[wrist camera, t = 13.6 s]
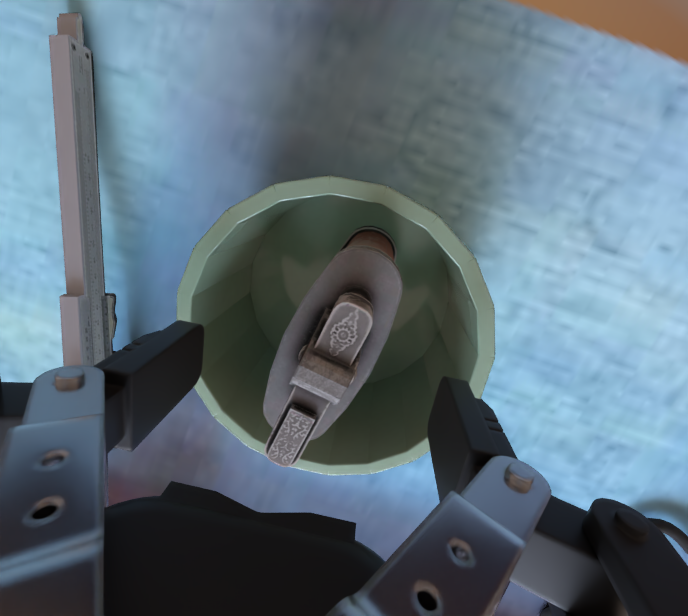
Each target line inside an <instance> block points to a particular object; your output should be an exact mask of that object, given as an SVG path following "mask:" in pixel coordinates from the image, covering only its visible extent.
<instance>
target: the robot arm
mask: <svg viewBox="0 0 688 616" xmlns="http://www.w3.org/2000/svg"><path fill="white" fill-rule="evenodd" d="M203 348H204V327H203V325H202V324H197V323H192V322H187V321H183V320H178V321H176V322H174V323H173V324H171V325H170V326H168V327H167V328H165V329H164V330H162V331H160V330H159V331H156V332H153V333H149V334H146V335H143V336H141V337H140V338H138V339H137V340H135V341H133V342H132V344H128V345H127V346H125V347H124V348H123V349H122V350H119V351H117V352H115V353H114V354H112V355H110V356H109V357H107V358H106V359H104V360H102V361H101V362H99V363H97V364H96V365H94V366H87V365H71V366H64V367H59V368H56V369H53V370H50V371H47V372H45V373H43V374H41V375H40V376H39V377H37V378H36V379H35V380H34V382H33V383H15V382H1V378H0V616H493V615H494V613H495V611H496V609H497V607H498V605H499V603H500V601H501V599H502V597H503V595H504V593H505V591H506V589H507V587H508V585H509V583H510V581H511V582H512V583H514V584H516V585H518V586H520V587H522V588H524V589H525V590H527V591H529V592H531V593H533V594H535V595H537V596H538V597H540V598H542V599H544V600H546V601H547V602H548V605H549V608H550V611H551V614H552V616H688V566H687V564H686V563H685V562H684V560H683V559H682V558H681V556H680V555H679V554H678V553H677V551H676V550H675V549H674V547H673V546H672V545H671V543H670V542H669V541H668V539H667V538H666V537H665V535H664V534H663V533H662V532H661V531H660V530H659V529H658V528H657V527H656V526H655V525H654V524H653V523H652V522H651V521H650V520H649V519H647V518H646V517H645V516H643V515H642V514H640V513H639V512H637V511H636V510H634V509H632V508H631V507H629V506H627V505H625V504H623V503H620V502H618V501H614V500H611V499H605V498H600V499H596V500H595V501H594V502H593V503H592V505H591V507H590V509H589V510H588V512H587V511H585V510H583V509H581V508H578V507H576V506H574V505H571V504H569V503H567V502H565V501H562V500H560V499H558V498H556V497H554V496H552V495H551V489H550V486H549V484H548V482H547V481H546V480H545V478H544V477H543V476H542V475H541V474H540V473H539V472H538V471H536V470H535V469H534V468H532V467H531V466H529V465H528V464H526V463H524V462H522V461H520V460H518V459H517V457H516V455H515V453H514V451H513V449H512V447H511V445H510V443H509V441H508V439H507V437H506V435H505V433H503V429H502V427H501V425H500V423H498V419H497V417H496V415H495V413H494V411H493V410H492V409H491V408H490V407H489V406H488V405H487V404H486V403H485V402H484V401H483V400H482V399H478V398H475V397H474V394H473V392H472V390H471V388H470V386H469V383H468V381H466V380H461V379H456V378H451V377H447V376H443V377H442V379H441V381H440V383H439V386H438V390H437V393H436V396H435V400H434V403H433V406H432V409H431V413H430V416H429V420H428V428H427V435H428V441H429V446H430V452H431V457H432V462H433V468H434V473H435V478H436V484H437V489H438V494H439V500H440V503H439V504H438V505H437V507H436V508H435V509H434V510H433V511H432V512H431V513H430V514H429V515H428V516H427V517H426V518H425V520H424V521H423V522H422V523H421V524H420V525H419V526H418V527H417V528H416V529H415V530H414V531H413V533H412V534H411V535H410V536H409V537H408V538H407V539H406V540H405V541H404V542H403V543H402V545H401V546H400V547H399V548H398V549H397V550H396V551H395V552H394V553H393V554H392V555H391V556H390V558H389V559H388V560H387V561H386V562H385V561H384V560H383V559H382V558H381V557H380V556H379V555H377V554H376V553H375V552H374V551H373V550H371V549H369V548H368V547H366V546H365V545H363V544H362V543H360V542H358V541H356V540H355V529H356V523H354V522H349V521H345V520H340V519H336V518H332V517H327V516H323V515H318V514H314V513H260V512H256V511H254V510H252V509H250V508H248V507H246V506H244V505H242V504H240V503H238V502H236V501H234V500H232V499H230V498H228V497H226V496H224V495H222V494H220V493H218V492H216V491H212V490H208V489H204V488H199V487H195V486H190V485H186V484H182V483H177V482H173V481H171V482H170V484H169V485H168V486H167V488H166V489H165V491H164V492H163V493H162V495H161V496H152V497H142V498H137V499H132V500H128V501H124V502H121V503H117V504H114V505H112V506H109V507H108V455H107V454H108V453H109V452H110V451H111V450H112V449H113V448H118V449H122V450H127V451H131V452H132V451H133V450H134V449H135V448H136V447H137V446H138V445H139V444H140V443H141V442H142V440H143V439H144V438H145V437H146V436H147V435H148V434H149V433H150V432H151V431H152V430H153V429H154V428H155V427H156V426H157V425H158V424H159V423H160V422H161V421H162V419H163V418H164V417H165V416H166V415H167V414H168V413H169V412H170V411H171V410H172V409H173V408H174V407H175V406H176V405H177V404H178V403H179V402H180V401H181V400H182V398H183V397H184V396H185V395H186V394H187V393H188V392H189V391H190V390H191V389H192V388H193V387H194V386H195V385H196V383H197V382H198V380H199V378H200V375H201V371H202V364H203Z"/></svg>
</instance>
